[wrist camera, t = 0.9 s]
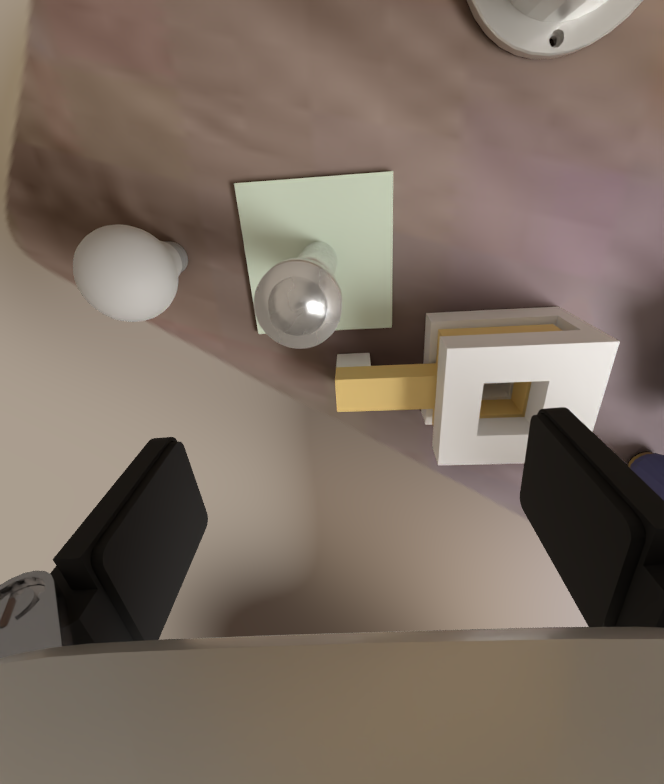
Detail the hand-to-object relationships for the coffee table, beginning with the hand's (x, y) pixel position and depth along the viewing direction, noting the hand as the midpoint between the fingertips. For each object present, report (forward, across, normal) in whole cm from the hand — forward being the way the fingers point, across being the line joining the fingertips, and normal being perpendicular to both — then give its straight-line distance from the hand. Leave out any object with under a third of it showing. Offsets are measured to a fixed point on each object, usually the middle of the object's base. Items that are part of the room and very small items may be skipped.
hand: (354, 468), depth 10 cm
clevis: (+25, -8, +8) cm, 27 cm away
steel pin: (+24, +2, -2) cm, 25 cm away
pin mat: (+25, +2, -2) cm, 25 cm away
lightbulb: (+25, +14, -4) cm, 29 cm away
